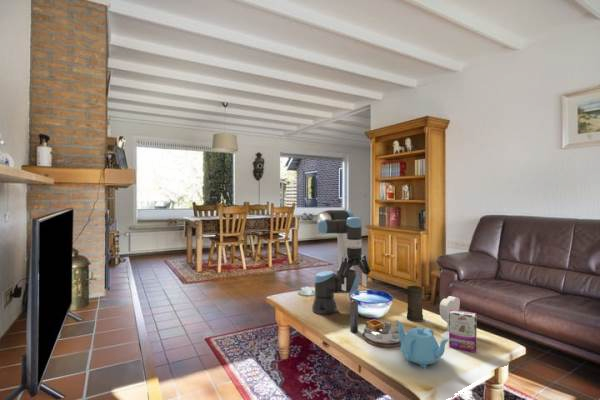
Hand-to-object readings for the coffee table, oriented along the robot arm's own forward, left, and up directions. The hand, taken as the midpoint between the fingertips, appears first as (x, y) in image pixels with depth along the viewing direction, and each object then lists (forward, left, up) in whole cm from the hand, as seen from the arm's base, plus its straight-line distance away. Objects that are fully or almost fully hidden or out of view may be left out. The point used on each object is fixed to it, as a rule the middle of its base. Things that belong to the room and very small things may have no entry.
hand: (354, 288), depth 169 cm
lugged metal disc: (+14, +7, -21) cm, 26 cm away
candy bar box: (+40, +31, -23) cm, 55 cm away
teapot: (+38, +5, -23) cm, 44 cm away
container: (+5, +40, -23) cm, 46 cm away
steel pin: (0, 0, -22) cm, 22 cm away
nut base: (+14, +7, -22) cm, 27 cm away
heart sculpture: (+27, +40, -23) cm, 53 cm away
